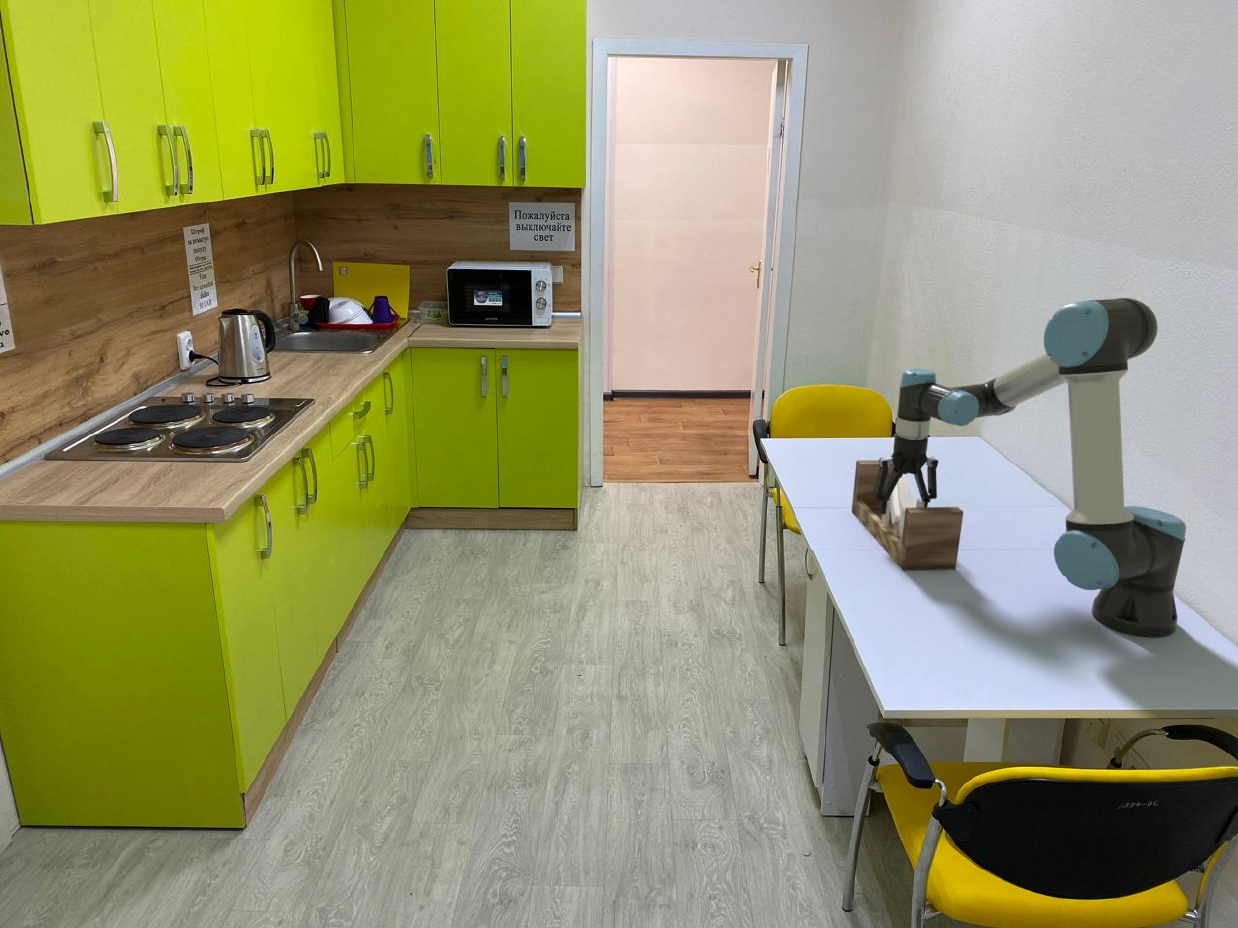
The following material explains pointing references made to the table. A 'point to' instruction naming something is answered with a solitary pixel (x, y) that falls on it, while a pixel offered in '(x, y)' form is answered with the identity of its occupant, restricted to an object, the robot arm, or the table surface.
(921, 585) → the table surface
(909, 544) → the cradle
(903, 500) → the shelf bracket
